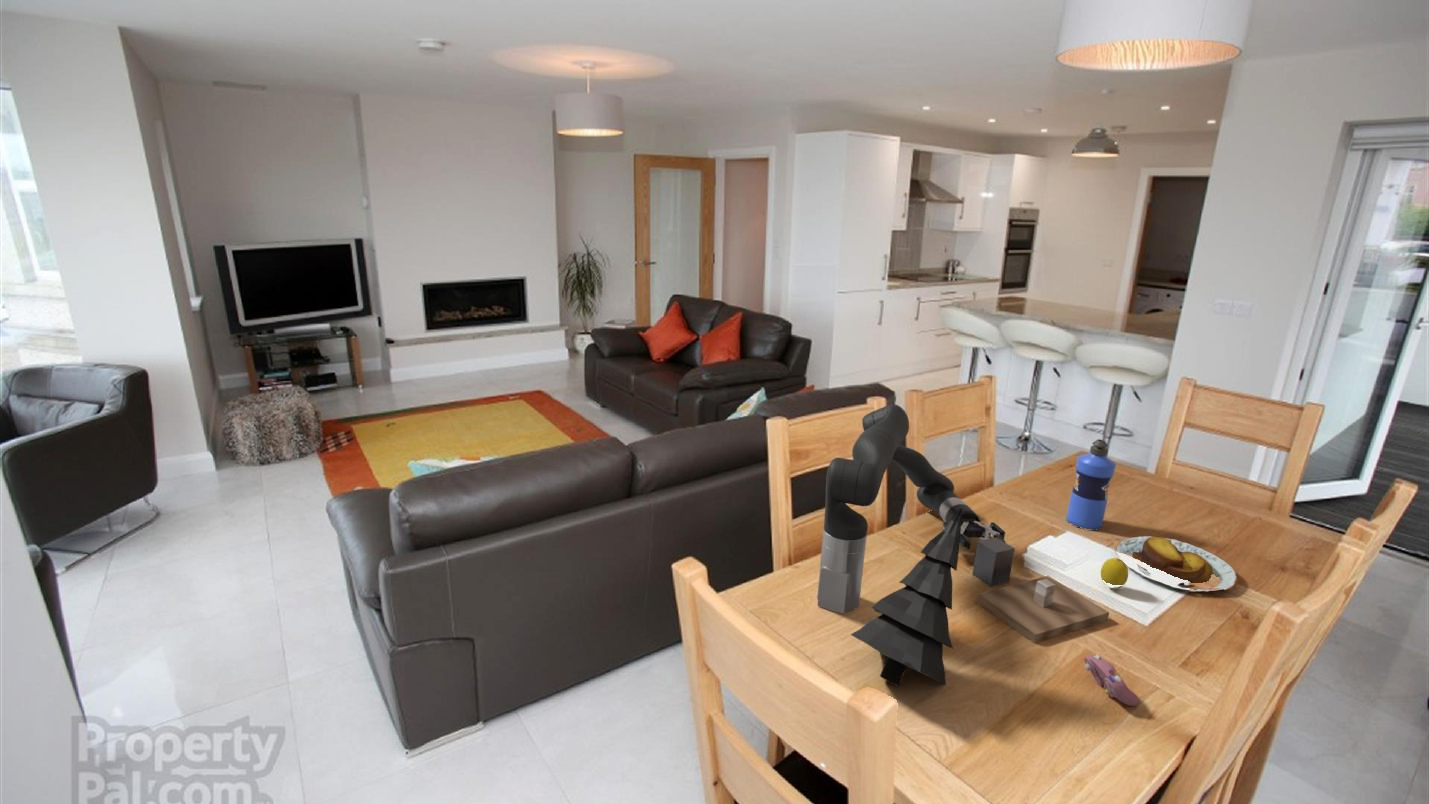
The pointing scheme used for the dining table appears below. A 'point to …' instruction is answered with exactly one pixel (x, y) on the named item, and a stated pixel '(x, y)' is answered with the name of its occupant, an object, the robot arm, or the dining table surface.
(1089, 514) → the water bottle
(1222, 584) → the food on plate
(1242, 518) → the dining table surface
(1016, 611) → the flat brown board
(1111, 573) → the lemon
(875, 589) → the dining table surface
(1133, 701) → the video game controller
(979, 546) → the dark grey box
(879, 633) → the decorative tree
